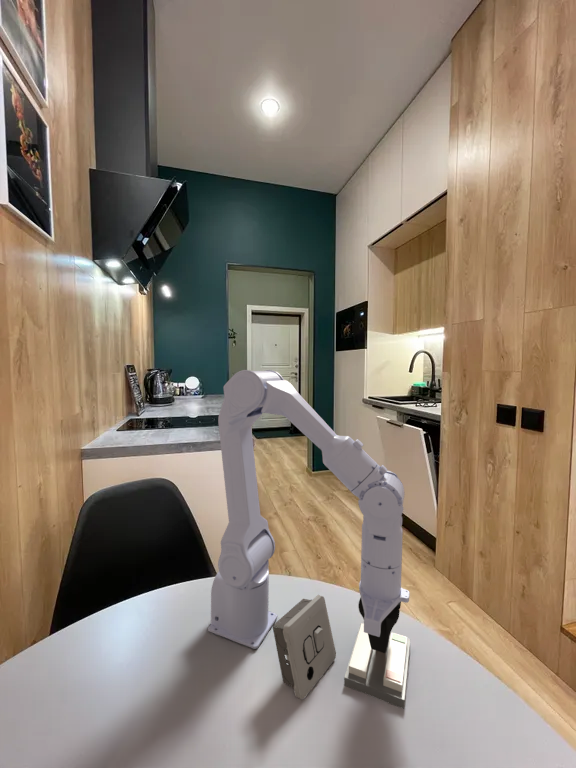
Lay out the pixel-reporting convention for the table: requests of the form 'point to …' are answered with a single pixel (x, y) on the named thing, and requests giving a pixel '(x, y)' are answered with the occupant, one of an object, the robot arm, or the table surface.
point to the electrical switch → (304, 644)
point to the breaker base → (379, 668)
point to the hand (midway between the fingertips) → (378, 647)
